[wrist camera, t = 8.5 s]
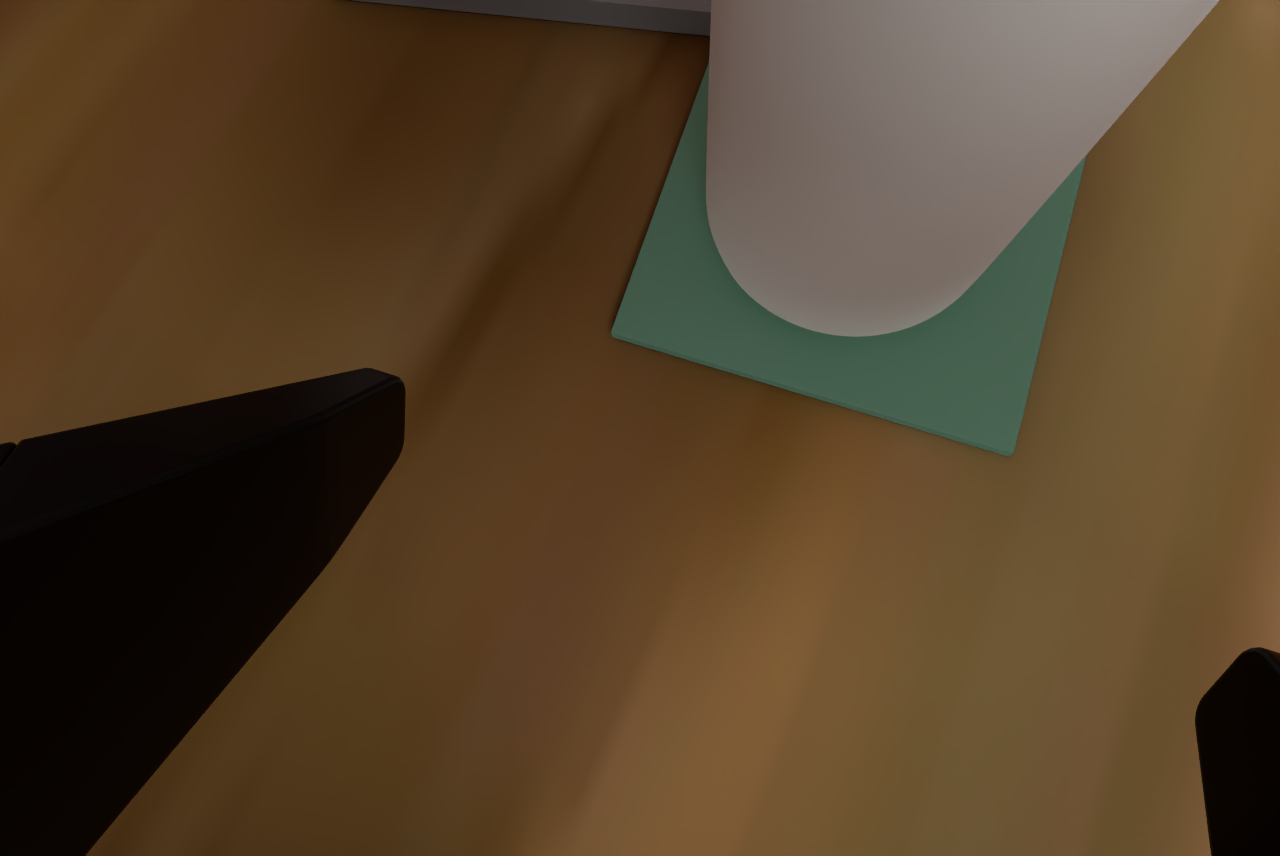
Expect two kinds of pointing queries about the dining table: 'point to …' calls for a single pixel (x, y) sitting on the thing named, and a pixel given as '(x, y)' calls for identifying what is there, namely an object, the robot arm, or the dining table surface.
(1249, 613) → the dining table surface
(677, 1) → the legend board
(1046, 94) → the can
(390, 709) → the dining table surface
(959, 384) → the pad
